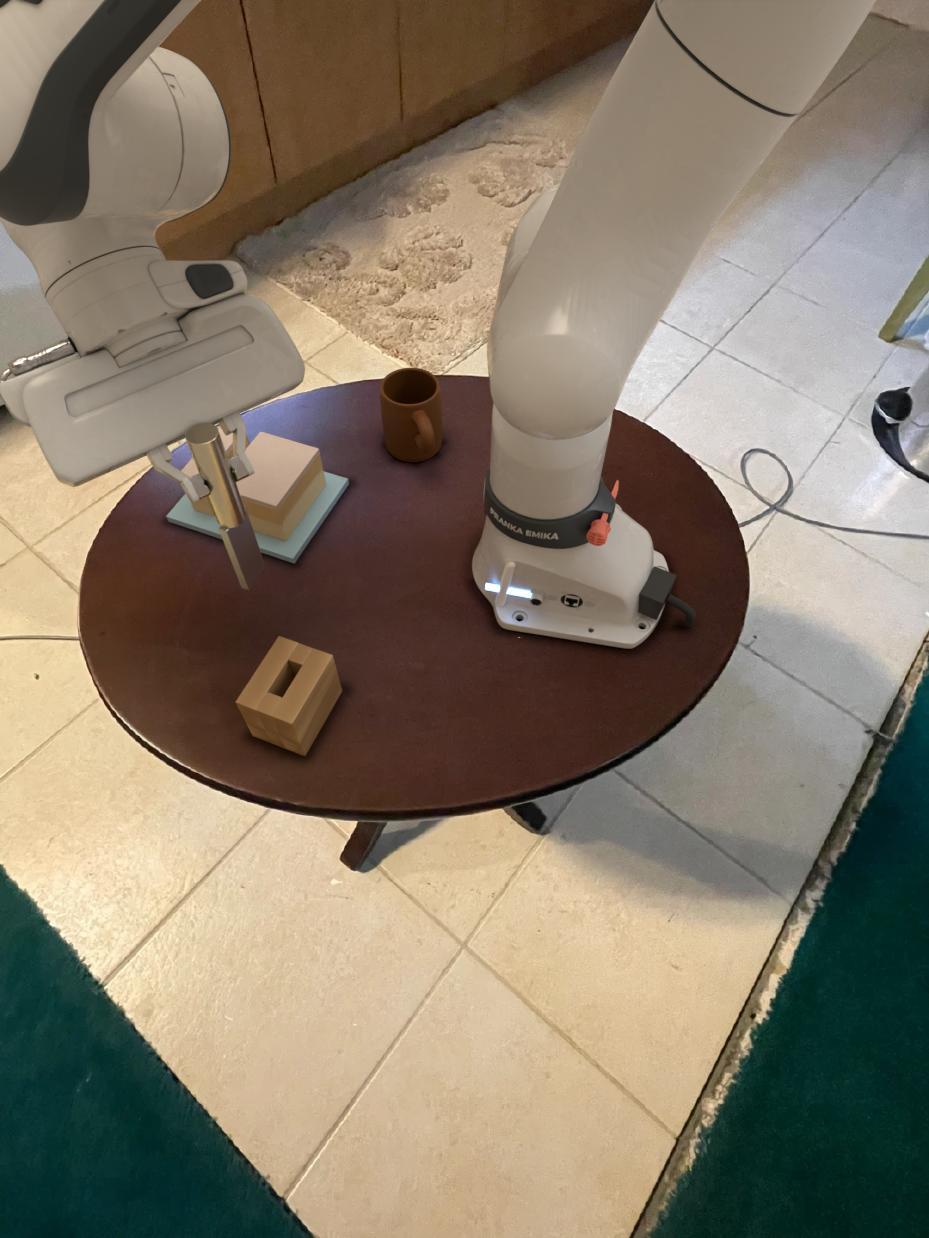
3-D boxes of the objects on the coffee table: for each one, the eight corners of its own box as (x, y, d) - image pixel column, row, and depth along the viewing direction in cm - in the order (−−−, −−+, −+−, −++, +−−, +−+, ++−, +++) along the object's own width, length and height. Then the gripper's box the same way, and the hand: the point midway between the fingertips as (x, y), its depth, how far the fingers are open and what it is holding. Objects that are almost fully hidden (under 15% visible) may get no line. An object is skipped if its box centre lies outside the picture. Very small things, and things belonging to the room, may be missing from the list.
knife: (273, 569, 70) (226, 424, 56) (256, 593, 68) (204, 450, 54) (250, 561, 71) (199, 416, 57) (233, 585, 69) (175, 442, 55)
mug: (460, 480, 97) (460, 422, 89) (402, 494, 95) (397, 436, 88) (433, 420, 103) (430, 361, 96) (378, 432, 102) (371, 373, 94)
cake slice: (256, 464, 97) (245, 427, 92) (214, 516, 92) (200, 480, 87) (235, 458, 98) (223, 421, 93) (193, 509, 93) (178, 473, 88)
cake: (349, 484, 96) (342, 442, 91) (294, 564, 89) (282, 523, 83) (230, 448, 100) (216, 405, 94) (168, 521, 93) (148, 480, 87)
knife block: (342, 690, 79) (333, 655, 74) (305, 756, 75) (292, 724, 69) (291, 672, 81) (278, 635, 75) (252, 735, 76) (235, 702, 71)
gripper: (-23, 359, 49) (95, 549, 53) (258, 254, 57) (345, 428, 60) (-11, 380, 55) (95, 551, 59) (243, 283, 62) (324, 440, 66)
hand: (224, 488), depth 59 cm, fingers closed on knife, 2 cm apart
